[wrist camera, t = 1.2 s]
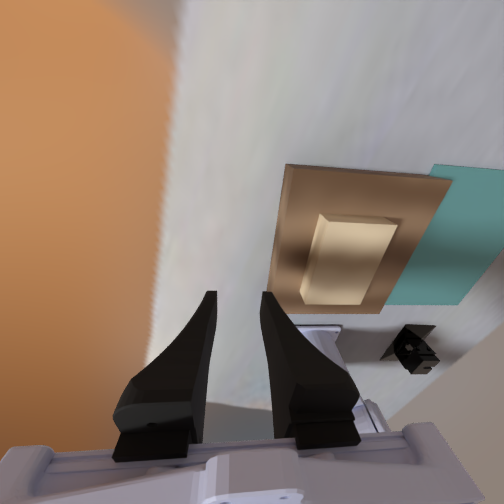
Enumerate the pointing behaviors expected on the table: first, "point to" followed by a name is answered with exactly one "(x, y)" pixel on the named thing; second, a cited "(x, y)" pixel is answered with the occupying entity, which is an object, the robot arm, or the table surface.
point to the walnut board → (348, 203)
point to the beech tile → (344, 258)
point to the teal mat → (455, 239)
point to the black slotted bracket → (413, 349)
